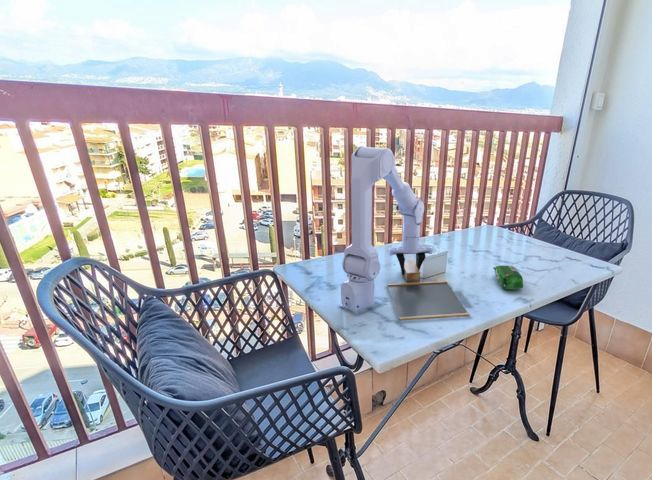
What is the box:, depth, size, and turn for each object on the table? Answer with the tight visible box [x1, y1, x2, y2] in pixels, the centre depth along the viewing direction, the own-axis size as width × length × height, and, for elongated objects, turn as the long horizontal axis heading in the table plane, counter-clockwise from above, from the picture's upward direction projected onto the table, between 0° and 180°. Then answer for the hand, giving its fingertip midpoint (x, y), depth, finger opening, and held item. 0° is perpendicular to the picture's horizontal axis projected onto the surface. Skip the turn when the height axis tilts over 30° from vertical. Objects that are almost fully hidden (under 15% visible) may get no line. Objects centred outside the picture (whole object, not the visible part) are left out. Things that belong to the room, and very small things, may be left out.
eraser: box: [402, 259, 421, 283], centre depth 137 cm, size 4×12×4 cm, turn 10°
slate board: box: [387, 280, 471, 321], centre depth 122 cm, size 20×25×1 cm
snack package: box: [493, 265, 524, 290], centre depth 134 cm, size 7×16×5 cm, turn 2°
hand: (410, 273), depth 138 cm, fingers closed on eraser, 4 cm apart
